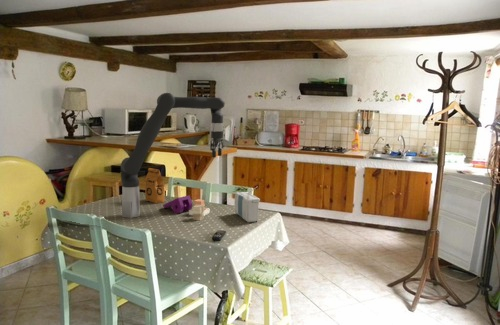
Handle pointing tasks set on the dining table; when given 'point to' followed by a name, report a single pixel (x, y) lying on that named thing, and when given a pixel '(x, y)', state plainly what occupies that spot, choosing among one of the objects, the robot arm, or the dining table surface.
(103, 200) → the dining table surface
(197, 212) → the birch block
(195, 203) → the terracotta block
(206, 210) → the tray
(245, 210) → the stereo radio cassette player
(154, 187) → the coffee package
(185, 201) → the mounting bracket
